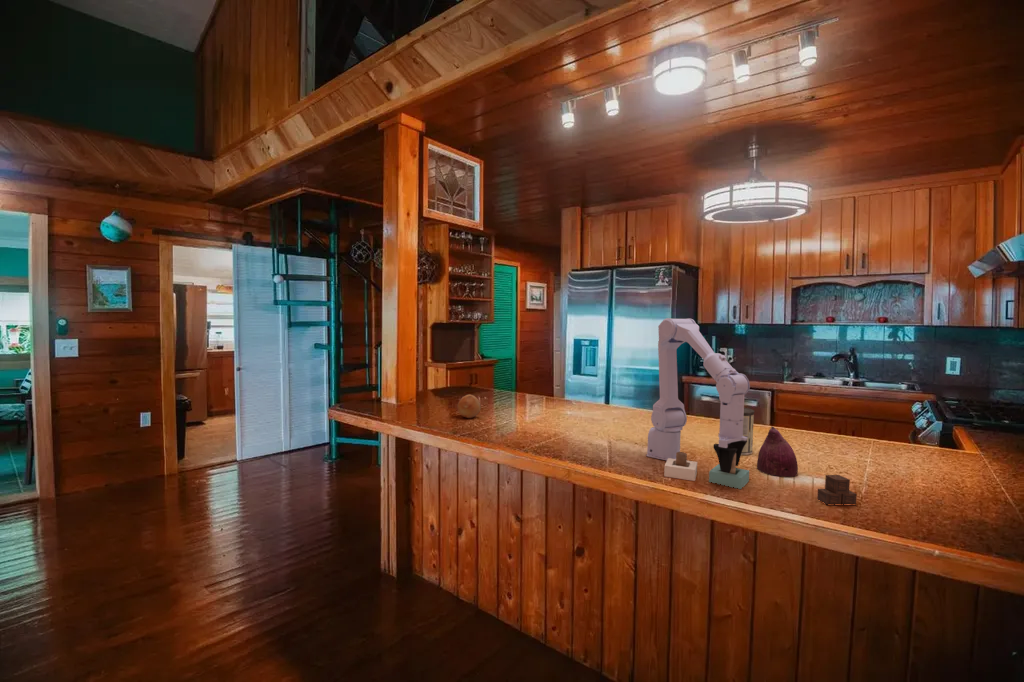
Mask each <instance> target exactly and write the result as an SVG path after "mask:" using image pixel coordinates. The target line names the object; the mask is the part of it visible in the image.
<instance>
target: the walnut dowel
mask: <svg viewBox="0 0 1024 682" xmlns="http://www.w3.org/2000/svg"><path fill="white" fill-rule="evenodd" d="M687 457H688V453H687V452H683V451H680V452H677V453H676V466H684V467H686V464H687V461H688V458H687Z"/></svg>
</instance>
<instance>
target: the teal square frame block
mask: <svg viewBox="0 0 1024 682" xmlns="http://www.w3.org/2000/svg"><path fill="white" fill-rule="evenodd" d="M749 481H750V470H748V469H745V468H739V467H736V471H735V474H730V473H726V472H721V469H720V465H719V463H718V464H717V465H715V466H713V468H711V469H710V470H709V472H708V483H711V482H712V483H713V484H715V483H717V484H716V485H720V484H721V485H720V486H724V485H725V487H728V486H729V488H733V487H734V488H733V489H737V488H738V490H742V489H743V488H744V487H745V486H746V485H747V484H749ZM742 487H743V488H742Z"/></svg>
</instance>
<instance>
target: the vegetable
mask: <svg viewBox="0 0 1024 682" xmlns="http://www.w3.org/2000/svg"><path fill="white" fill-rule="evenodd" d="M756 462H757V463H756V468H757V469H758V470H759V472H760V473H763V474H766V475H769V474H770V475H771V476H775V477H776V476H777V477H783V478H787V477H788V478H790V477H791V478H793V477H797V475H798V471H799V466H798V460H797V457H796V454H795V451H794V449H793V447H792V446H791V445H790V443H789V442H788V441H787V440H786V438H784V437H783V435H782V433H780V431H779V430H778V429H777V428H775V427H774V426H772V425H771V428H769V429H768V432H767V435H766V437H765V439H764V440H763V443H762V444H761V446H760V448H759V451H758V455H757V461H756Z"/></svg>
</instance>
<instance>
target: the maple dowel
mask: <svg viewBox="0 0 1024 682" xmlns="http://www.w3.org/2000/svg"><path fill="white" fill-rule="evenodd" d="M736 468H737V466H736V453H735V455H734V457H733V461H732V467H731V471H730V474H735V471H736Z"/></svg>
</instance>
